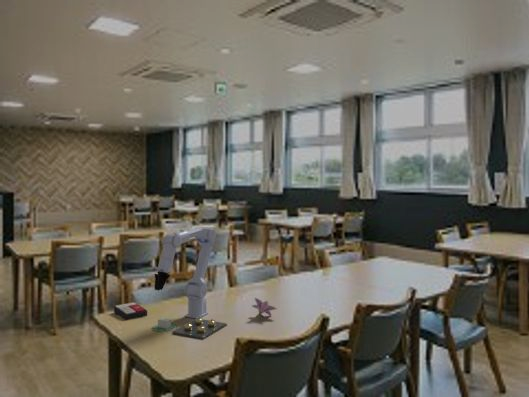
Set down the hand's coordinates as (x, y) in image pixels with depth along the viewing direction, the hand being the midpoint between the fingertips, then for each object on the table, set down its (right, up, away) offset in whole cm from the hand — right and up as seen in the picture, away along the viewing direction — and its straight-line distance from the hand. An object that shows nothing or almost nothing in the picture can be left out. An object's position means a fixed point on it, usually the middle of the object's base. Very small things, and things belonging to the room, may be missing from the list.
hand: (158, 289), depth 198 cm
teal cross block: (+1, -19, +7) cm, 20 cm away
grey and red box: (-20, -18, +26) cm, 37 cm away
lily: (+46, -19, +24) cm, 55 cm away
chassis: (+18, -19, +5) cm, 26 cm away
